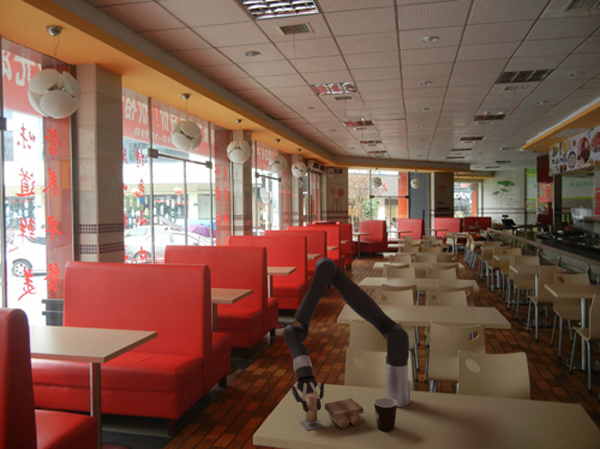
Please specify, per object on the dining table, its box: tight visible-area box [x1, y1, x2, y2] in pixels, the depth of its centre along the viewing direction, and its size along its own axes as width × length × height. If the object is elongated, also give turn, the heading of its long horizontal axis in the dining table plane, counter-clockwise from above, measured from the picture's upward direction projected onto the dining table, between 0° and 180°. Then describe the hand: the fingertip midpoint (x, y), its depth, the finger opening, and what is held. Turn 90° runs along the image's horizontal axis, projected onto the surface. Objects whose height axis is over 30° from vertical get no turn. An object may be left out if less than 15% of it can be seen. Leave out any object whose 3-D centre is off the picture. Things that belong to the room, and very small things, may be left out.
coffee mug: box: [373, 397, 398, 433], centre depth 180 cm, size 12×9×10 cm
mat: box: [300, 418, 325, 431], centre depth 182 cm, size 7×7×1 cm
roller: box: [305, 393, 318, 423], centre depth 182 cm, size 4×4×10 cm
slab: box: [324, 398, 364, 430], centre depth 184 cm, size 12×10×6 cm
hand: (313, 410), depth 180 cm, fingers closed on roller, 4 cm apart
